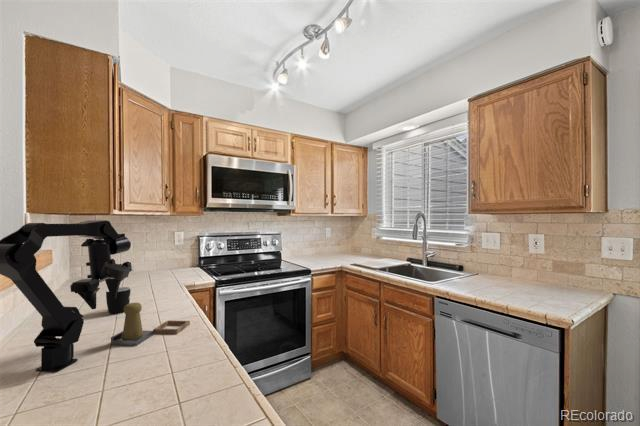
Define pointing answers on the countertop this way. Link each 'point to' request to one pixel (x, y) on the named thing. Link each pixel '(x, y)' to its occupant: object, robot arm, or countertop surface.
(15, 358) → the countertop surface
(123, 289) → the mug
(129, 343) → the gray hardcover book
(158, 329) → the socket collar
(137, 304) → the cork
